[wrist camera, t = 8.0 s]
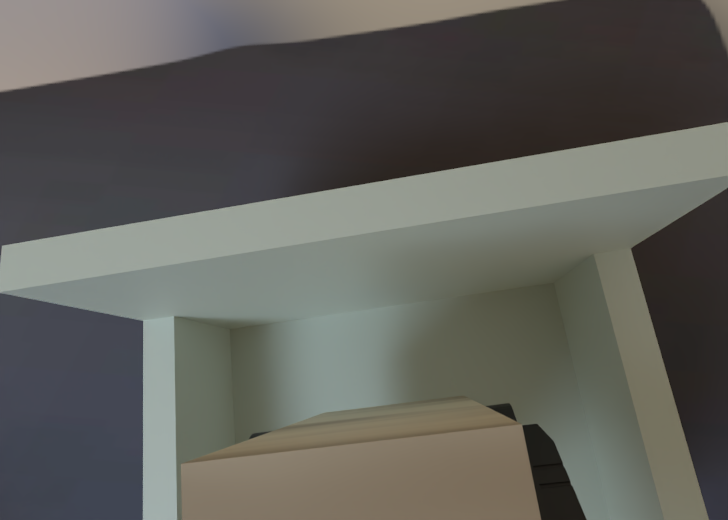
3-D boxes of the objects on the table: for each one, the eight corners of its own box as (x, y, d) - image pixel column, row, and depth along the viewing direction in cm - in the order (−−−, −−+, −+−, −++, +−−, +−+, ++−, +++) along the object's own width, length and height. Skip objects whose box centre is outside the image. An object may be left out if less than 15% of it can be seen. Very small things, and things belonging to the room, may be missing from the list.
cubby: (623, 546, 20) (1029, 897, 7) (243, 581, 22) (-57, 916, 8) (556, 267, 23) (735, 120, 10) (230, 316, 25) (2, 245, 12)
